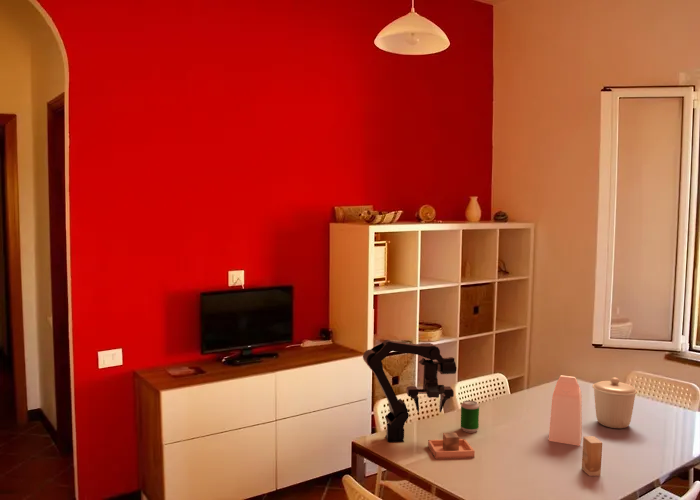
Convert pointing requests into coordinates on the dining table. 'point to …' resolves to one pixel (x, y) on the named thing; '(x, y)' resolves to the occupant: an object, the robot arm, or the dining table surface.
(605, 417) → the canister
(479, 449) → the dining table surface
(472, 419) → the soda can
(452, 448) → the walnut block
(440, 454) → the terracotta tray
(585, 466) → the skincare box
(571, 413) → the milk
